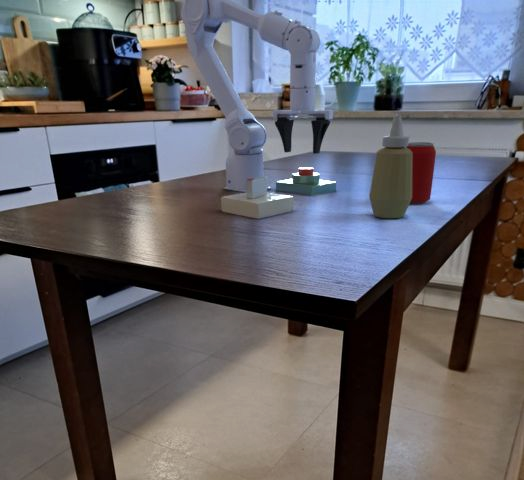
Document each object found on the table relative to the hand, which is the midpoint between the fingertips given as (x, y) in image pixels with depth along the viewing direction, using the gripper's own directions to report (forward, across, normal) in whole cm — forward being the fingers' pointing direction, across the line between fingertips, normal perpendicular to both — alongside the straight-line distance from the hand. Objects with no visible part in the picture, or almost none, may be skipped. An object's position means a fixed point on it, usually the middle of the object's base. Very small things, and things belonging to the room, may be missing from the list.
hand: (301, 152), depth 122 cm
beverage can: (+9, +28, 0) cm, 29 cm away
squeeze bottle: (+9, +28, -17) cm, 34 cm away
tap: (+6, +2, -24) cm, 25 cm away
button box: (+9, 0, +3) cm, 10 cm away
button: (+6, 0, +3) cm, 6 cm away
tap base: (+9, +2, -24) cm, 26 cm away
